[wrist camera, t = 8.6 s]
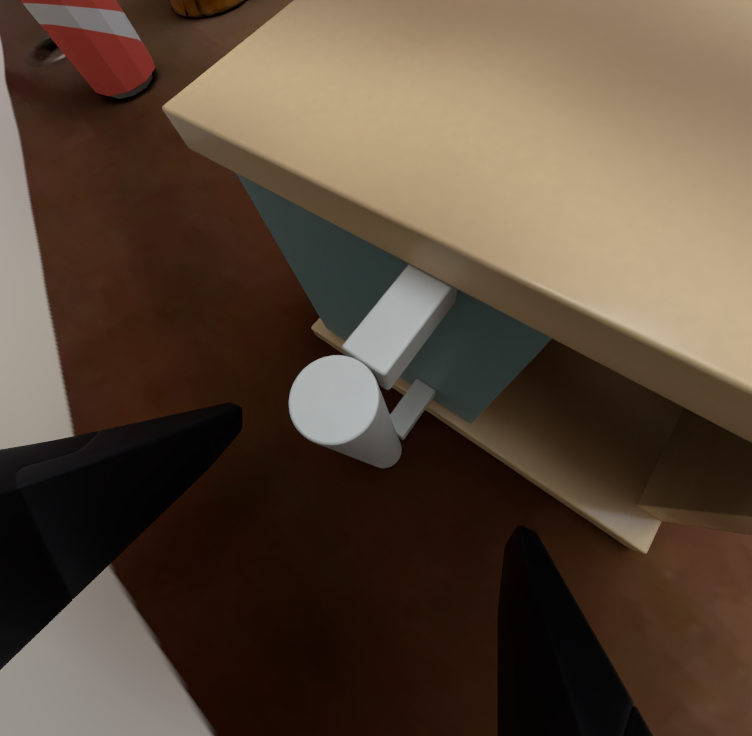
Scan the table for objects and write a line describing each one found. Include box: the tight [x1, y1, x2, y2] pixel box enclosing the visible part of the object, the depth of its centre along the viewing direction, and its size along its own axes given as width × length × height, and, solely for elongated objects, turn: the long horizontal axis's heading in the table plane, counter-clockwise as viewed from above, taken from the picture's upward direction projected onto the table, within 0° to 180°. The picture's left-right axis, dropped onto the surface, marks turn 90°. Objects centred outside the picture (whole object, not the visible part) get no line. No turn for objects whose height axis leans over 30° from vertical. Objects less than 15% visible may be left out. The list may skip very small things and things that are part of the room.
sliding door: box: [236, 173, 552, 468], centre depth 11 cm, size 5×9×10 cm, turn 53°
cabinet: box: [162, 0, 752, 554], centre depth 11 cm, size 10×18×12 cm, turn 53°
